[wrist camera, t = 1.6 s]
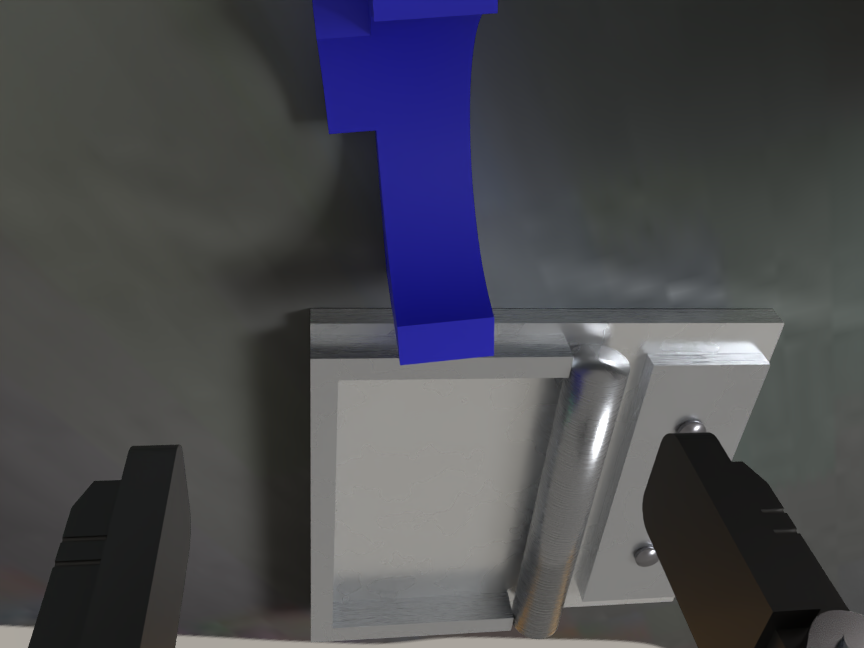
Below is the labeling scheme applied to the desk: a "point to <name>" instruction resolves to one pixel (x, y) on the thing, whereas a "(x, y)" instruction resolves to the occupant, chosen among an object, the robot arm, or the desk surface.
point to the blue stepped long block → (416, 158)
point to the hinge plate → (508, 462)
